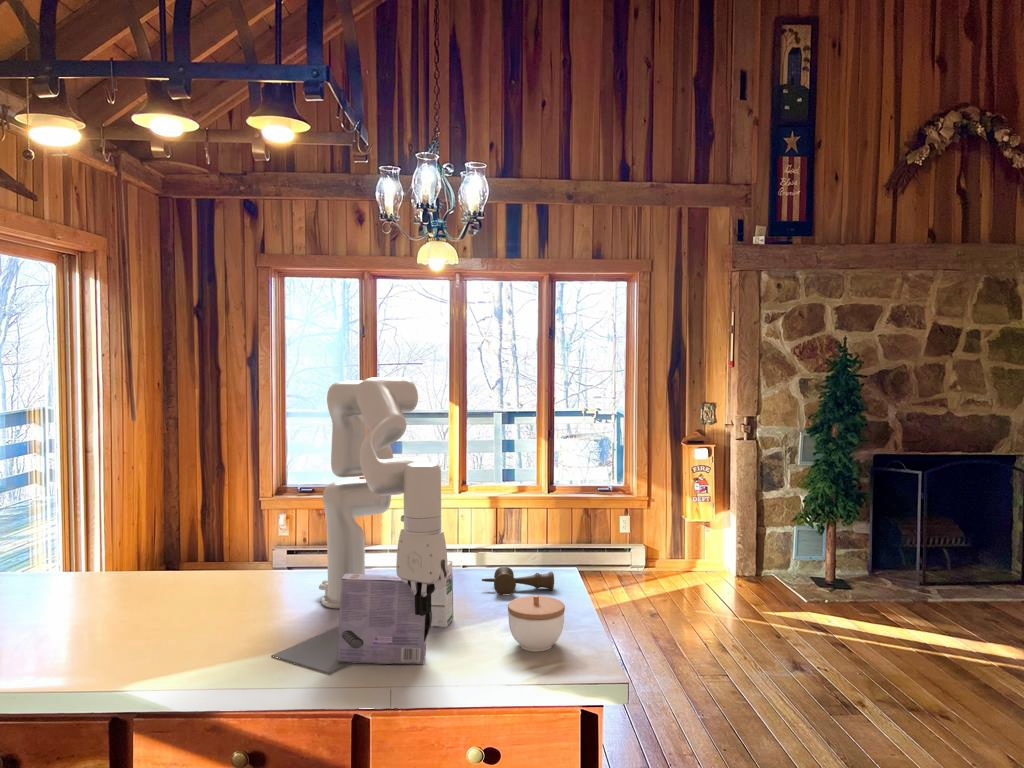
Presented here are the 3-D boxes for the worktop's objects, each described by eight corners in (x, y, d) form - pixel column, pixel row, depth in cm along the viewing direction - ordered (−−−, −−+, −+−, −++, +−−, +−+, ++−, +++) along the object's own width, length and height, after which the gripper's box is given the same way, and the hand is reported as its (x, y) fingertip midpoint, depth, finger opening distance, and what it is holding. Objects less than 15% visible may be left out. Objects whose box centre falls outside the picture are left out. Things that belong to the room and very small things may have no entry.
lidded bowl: (548, 661, 158) (549, 609, 157) (497, 649, 164) (497, 599, 164) (574, 641, 169) (574, 592, 168) (524, 631, 175) (524, 584, 175)
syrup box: (447, 627, 177) (446, 566, 177) (423, 626, 178) (422, 565, 178) (453, 619, 183) (453, 560, 182) (430, 617, 184) (430, 559, 183)
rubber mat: (271, 656, 160) (271, 655, 160) (345, 625, 179) (344, 623, 179) (329, 674, 151) (329, 672, 151) (400, 639, 170) (400, 637, 170)
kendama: (555, 597, 202) (481, 596, 201) (552, 586, 211) (480, 586, 210) (556, 574, 202) (481, 573, 201) (552, 565, 211) (481, 564, 210)
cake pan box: (431, 655, 161) (433, 574, 160) (429, 665, 156) (431, 581, 155) (341, 653, 160) (342, 572, 159) (336, 663, 155) (337, 579, 154)
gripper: (381, 523, 152) (382, 612, 153) (441, 532, 144) (441, 626, 145) (405, 516, 159) (406, 602, 159) (463, 524, 151) (463, 614, 152)
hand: (423, 613), depth 152 cm, fingers closed
